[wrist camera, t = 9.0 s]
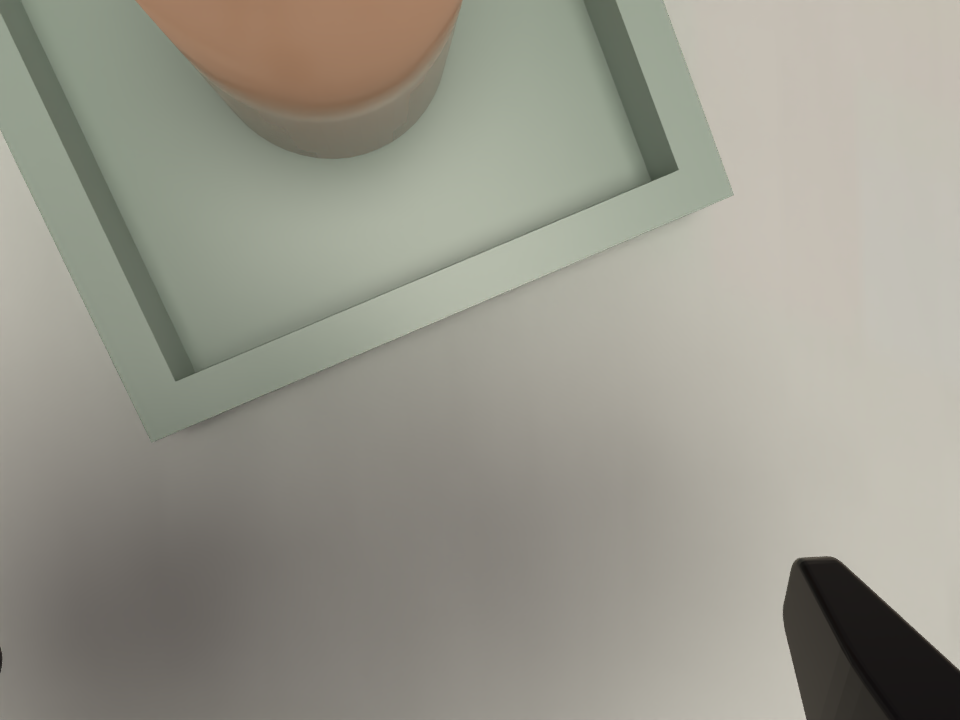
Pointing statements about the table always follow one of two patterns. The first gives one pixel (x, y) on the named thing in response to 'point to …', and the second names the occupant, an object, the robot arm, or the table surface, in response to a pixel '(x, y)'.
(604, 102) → the tray
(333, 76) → the shaker
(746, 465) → the table surface
